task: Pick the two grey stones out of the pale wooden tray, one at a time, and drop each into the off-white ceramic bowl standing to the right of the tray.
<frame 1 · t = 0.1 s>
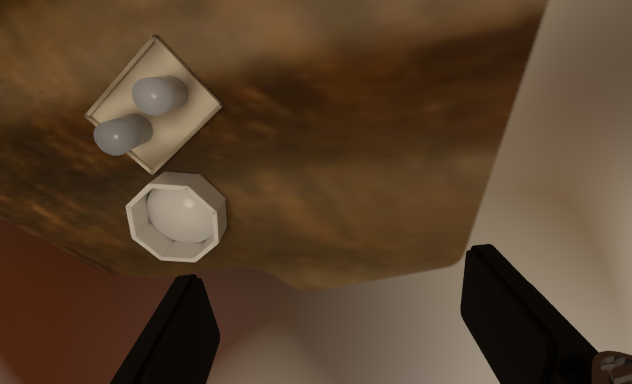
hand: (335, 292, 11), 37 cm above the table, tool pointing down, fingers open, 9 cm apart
bowl: (185, 210, 51), on the table
tray: (156, 110, 44), on the table
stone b: (137, 128, 45), resting on tray
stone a: (172, 91, 43), resting on tray
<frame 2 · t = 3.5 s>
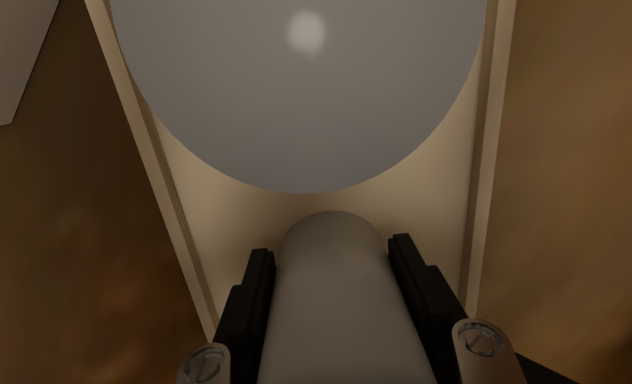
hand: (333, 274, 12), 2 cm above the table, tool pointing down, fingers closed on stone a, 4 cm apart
tray: (321, 163, 11), on the table
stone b: (307, 47, 9), resting on tray
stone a: (331, 257, 13), resting on tray, touching gripper
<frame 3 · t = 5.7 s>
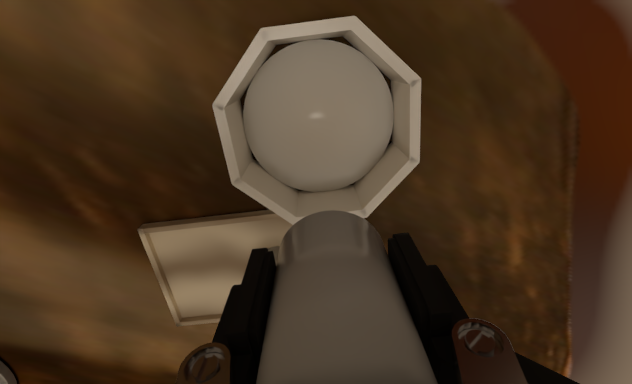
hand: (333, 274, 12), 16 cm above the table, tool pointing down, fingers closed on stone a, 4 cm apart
bowl: (318, 121, 25), on the table
tray: (240, 266, 31), on the table
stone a: (331, 257, 13), point 15 cm above the table, touching gripper
when the fingers open (5 cm above the table, at t = 7.7 s): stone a drops 3 cm, resting on bowl.
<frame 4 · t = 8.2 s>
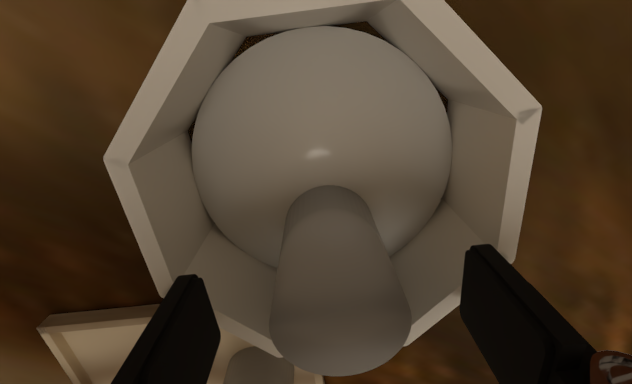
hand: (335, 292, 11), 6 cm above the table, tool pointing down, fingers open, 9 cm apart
bowl: (321, 166, 15), on the table
tray: (204, 369, 21), on the table
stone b: (261, 369, 20), resting on tray
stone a: (328, 225, 15), point 1 cm above the table, touching bowl
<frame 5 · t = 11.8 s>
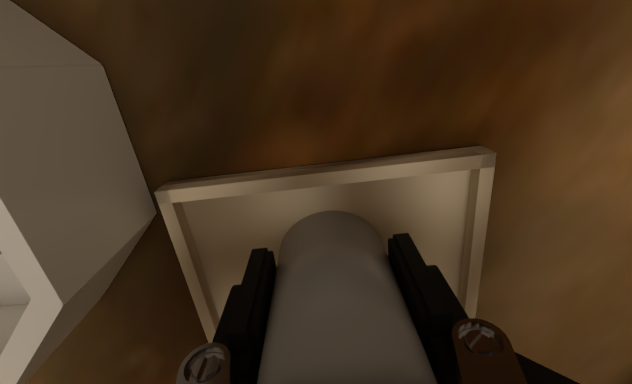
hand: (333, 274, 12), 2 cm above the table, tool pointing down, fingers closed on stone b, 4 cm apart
tray: (338, 320, 15), on the table
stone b: (331, 257, 13), resting on tray, touching gripper
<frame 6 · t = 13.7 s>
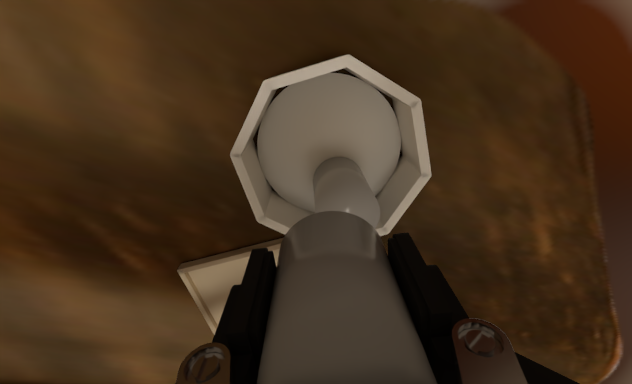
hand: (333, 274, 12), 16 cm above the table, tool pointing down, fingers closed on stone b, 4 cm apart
bowl: (328, 147, 26), on the table
tray: (275, 290, 32), on the table
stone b: (331, 257, 13), point 15 cm above the table, touching gripper
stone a: (337, 180, 26), point 1 cm above the table, touching bowl
when the fingers open (5 cm above the table, at t = 15.9 s): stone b drops 3 cm, resting on bowl.
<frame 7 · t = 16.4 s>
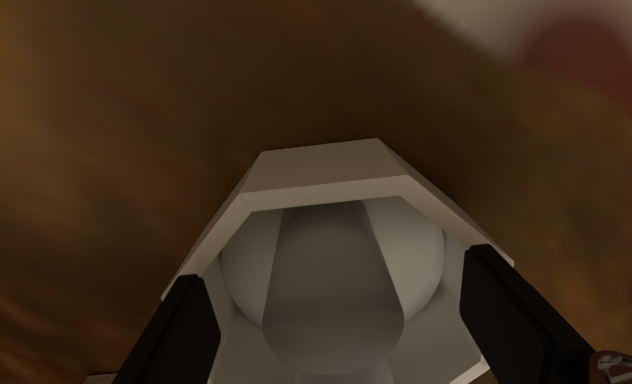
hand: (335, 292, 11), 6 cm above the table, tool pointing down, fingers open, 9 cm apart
bowl: (332, 259, 17), on the table
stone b: (324, 224, 15), point 1 cm above the table, touching bowl
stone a: (338, 309, 17), point 1 cm above the table, touching bowl
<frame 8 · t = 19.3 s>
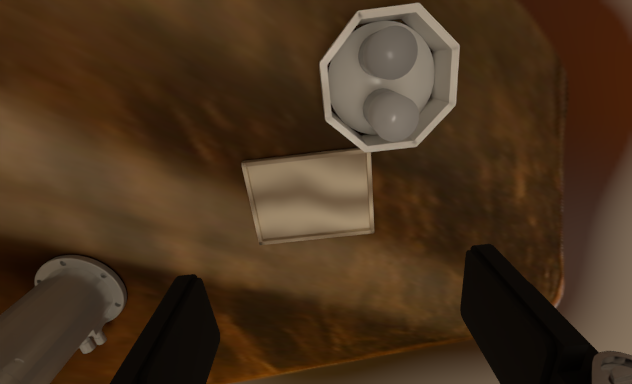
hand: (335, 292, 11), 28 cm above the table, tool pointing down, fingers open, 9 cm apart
bowl: (379, 81, 35), on the table
tray: (311, 196, 40), on the table
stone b: (378, 54, 33), point 1 cm above the table, touching bowl
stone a: (381, 108, 35), point 1 cm above the table, touching bowl
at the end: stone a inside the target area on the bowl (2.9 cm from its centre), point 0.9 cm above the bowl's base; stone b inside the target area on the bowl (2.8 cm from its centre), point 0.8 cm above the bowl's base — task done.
